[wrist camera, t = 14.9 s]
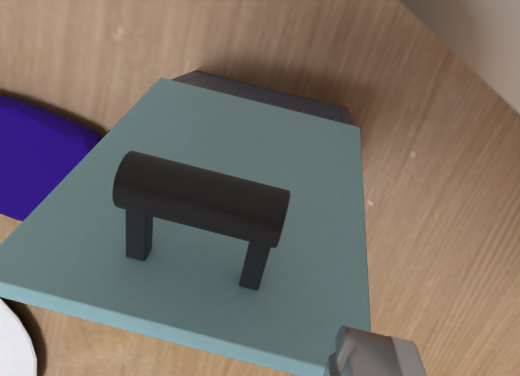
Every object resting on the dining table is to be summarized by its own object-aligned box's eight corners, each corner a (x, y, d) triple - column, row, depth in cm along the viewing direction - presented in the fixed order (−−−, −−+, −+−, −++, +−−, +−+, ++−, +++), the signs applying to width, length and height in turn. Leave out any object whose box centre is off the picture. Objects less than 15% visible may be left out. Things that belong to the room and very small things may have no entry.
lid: (365, 394, 13) (432, 297, 10) (-24, 291, 13) (-67, 168, 10) (356, 138, 26) (384, 64, 23) (160, 89, 26) (163, 9, 24)
